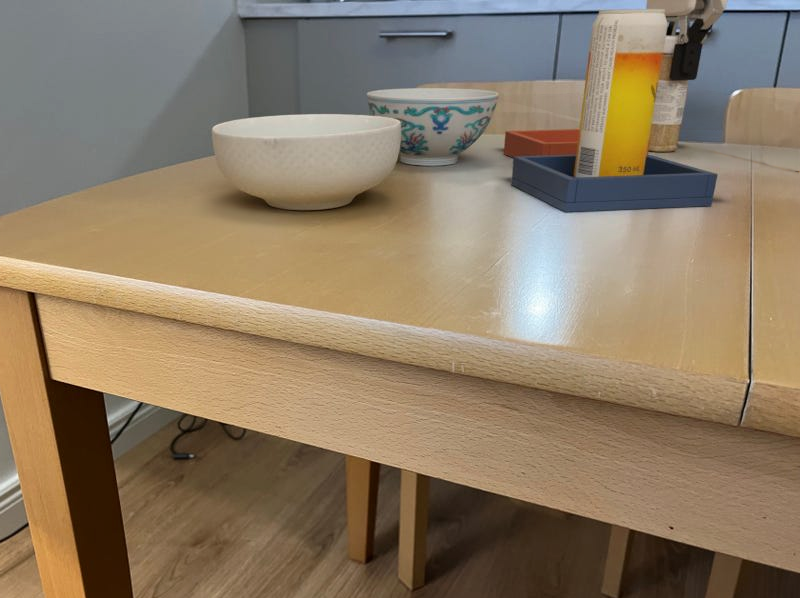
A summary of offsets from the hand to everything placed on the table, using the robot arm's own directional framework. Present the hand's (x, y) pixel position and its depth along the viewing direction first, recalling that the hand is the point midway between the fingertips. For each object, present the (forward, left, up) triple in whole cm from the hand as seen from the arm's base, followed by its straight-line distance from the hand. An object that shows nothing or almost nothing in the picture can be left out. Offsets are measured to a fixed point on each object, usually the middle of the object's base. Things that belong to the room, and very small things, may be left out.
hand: (670, 76), depth 92 cm
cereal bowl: (+48, +23, -9) cm, 54 cm away
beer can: (+20, +25, -8) cm, 33 cm away
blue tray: (+20, +25, -9) cm, 33 cm away
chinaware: (+31, +3, -9) cm, 32 cm away
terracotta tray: (+14, +5, -9) cm, 17 cm away
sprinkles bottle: (0, 0, -9) cm, 9 cm away
